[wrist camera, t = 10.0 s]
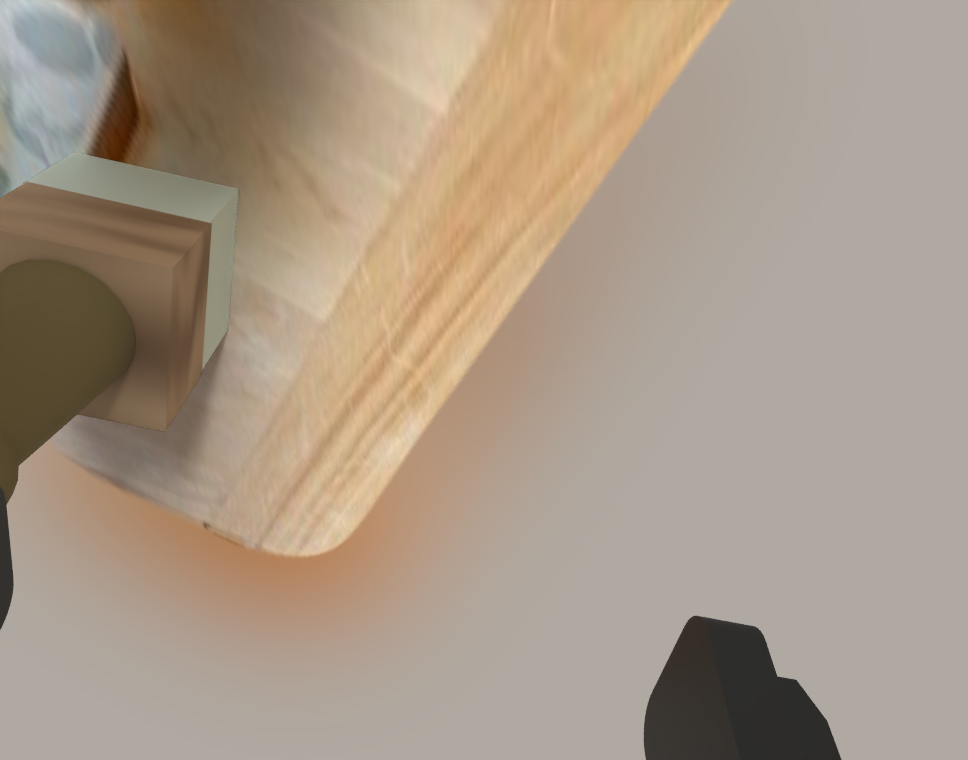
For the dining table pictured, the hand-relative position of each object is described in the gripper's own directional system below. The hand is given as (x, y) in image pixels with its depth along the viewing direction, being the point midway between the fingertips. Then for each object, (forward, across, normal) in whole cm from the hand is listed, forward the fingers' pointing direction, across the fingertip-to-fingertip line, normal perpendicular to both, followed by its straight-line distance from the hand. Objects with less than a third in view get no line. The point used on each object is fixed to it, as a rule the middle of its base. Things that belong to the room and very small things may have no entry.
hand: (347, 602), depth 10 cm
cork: (+23, +14, +12) cm, 30 cm away
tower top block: (+28, +14, +12) cm, 34 cm away
